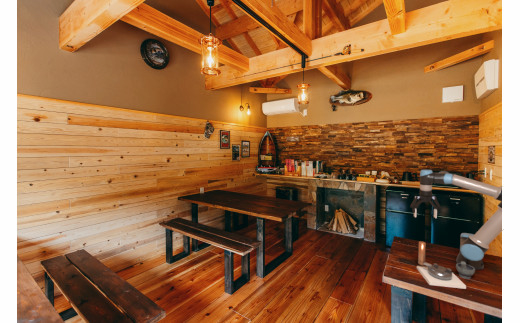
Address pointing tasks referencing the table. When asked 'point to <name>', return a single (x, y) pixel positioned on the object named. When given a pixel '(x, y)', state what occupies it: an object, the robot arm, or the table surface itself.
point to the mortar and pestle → (465, 270)
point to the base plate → (454, 282)
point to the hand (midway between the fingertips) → (425, 217)
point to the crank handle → (434, 269)
